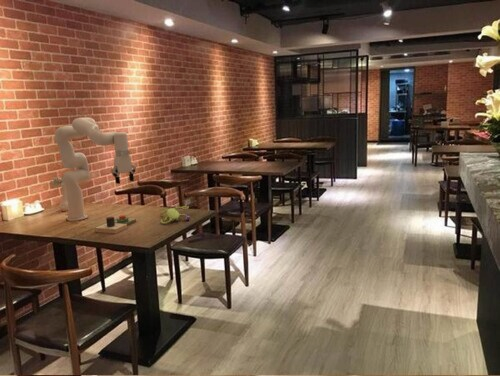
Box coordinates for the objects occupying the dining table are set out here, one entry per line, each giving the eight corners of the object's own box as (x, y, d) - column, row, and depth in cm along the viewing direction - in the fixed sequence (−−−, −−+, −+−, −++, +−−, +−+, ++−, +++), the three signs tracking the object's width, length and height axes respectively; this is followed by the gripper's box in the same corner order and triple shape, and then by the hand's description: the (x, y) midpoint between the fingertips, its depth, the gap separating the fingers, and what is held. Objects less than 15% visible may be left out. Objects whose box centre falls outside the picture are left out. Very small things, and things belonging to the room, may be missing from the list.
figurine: (188, 212, 282) (188, 204, 281) (191, 222, 256) (191, 213, 255) (160, 214, 279) (160, 206, 278) (160, 225, 253) (159, 216, 252)
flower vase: (62, 207, 310) (58, 173, 306) (82, 208, 304) (78, 174, 299) (48, 211, 298) (43, 176, 294) (69, 213, 292) (64, 177, 287)
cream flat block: (95, 232, 243) (94, 227, 243) (107, 226, 254) (107, 222, 253) (115, 233, 239) (115, 229, 238) (127, 228, 249) (126, 223, 248)
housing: (109, 225, 257) (109, 219, 256) (119, 220, 266) (119, 215, 266) (126, 226, 253) (125, 220, 253) (136, 221, 262) (135, 216, 262)
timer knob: (105, 226, 244) (104, 217, 243) (110, 224, 248) (109, 215, 247) (111, 227, 243) (110, 218, 242) (116, 225, 247) (115, 216, 246)
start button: (118, 219, 258) (118, 216, 258) (121, 217, 261) (121, 214, 261) (123, 219, 257) (123, 216, 257) (126, 217, 260) (126, 215, 260)
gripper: (130, 151, 257) (132, 179, 260) (105, 155, 244) (108, 184, 247) (138, 152, 253) (140, 180, 256) (113, 155, 239) (116, 185, 242)
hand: (124, 182), depth 251 cm, fingers open, 9 cm apart
